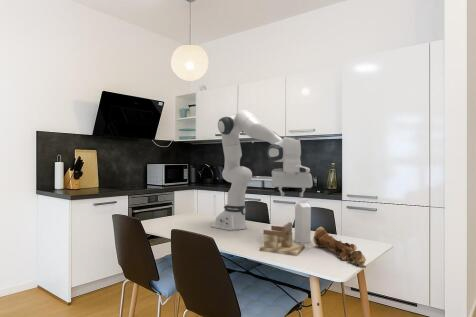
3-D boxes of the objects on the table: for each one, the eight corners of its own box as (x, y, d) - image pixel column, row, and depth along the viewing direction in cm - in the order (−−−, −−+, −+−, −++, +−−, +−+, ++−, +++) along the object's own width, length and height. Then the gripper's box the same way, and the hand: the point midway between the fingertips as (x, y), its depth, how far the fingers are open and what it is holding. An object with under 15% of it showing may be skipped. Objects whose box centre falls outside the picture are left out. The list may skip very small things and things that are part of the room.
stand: (259, 250, 154) (259, 232, 154) (270, 243, 169) (270, 226, 169) (296, 255, 147) (297, 236, 147) (304, 247, 162) (305, 230, 162)
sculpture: (320, 255, 166) (359, 272, 132) (306, 233, 165) (341, 244, 131) (333, 245, 168) (374, 259, 134) (319, 223, 167) (357, 231, 133)
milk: (294, 240, 175) (294, 199, 176) (303, 239, 178) (303, 199, 179) (301, 243, 170) (302, 201, 170) (310, 242, 173) (311, 200, 173)
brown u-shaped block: (263, 234, 155) (263, 224, 155) (271, 229, 167) (272, 220, 167) (284, 236, 151) (284, 227, 151) (291, 231, 163) (292, 222, 163)
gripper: (270, 168, 164) (270, 196, 164) (311, 169, 157) (311, 197, 157) (273, 168, 170) (273, 194, 170) (313, 168, 163) (313, 196, 163)
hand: (291, 196), depth 164 cm, fingers open, 8 cm apart
